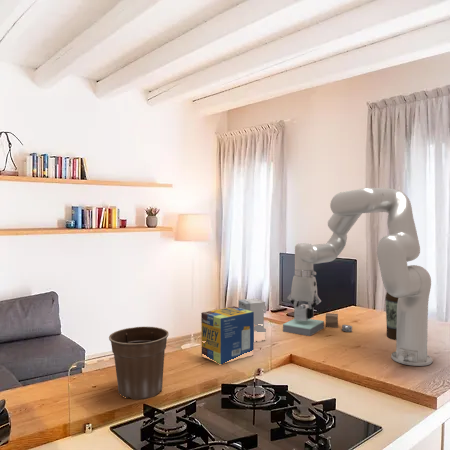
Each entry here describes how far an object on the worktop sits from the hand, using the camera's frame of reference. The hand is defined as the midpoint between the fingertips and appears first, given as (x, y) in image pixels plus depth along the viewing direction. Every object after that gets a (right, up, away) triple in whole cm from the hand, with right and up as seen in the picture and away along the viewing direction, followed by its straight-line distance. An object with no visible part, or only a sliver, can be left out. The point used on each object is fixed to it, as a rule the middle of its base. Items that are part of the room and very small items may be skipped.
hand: (303, 316), depth 189 cm
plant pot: (-57, -9, -62) cm, 84 cm away
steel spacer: (+17, -5, -2) cm, 18 cm away
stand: (0, -6, 0) cm, 6 cm away
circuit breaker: (-25, -7, -14) cm, 29 cm away
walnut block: (+13, -5, +6) cm, 15 cm away
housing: (0, -1, 0) cm, 1 cm away
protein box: (-32, -7, -33) cm, 46 cm away
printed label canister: (+35, -6, -11) cm, 38 cm away
